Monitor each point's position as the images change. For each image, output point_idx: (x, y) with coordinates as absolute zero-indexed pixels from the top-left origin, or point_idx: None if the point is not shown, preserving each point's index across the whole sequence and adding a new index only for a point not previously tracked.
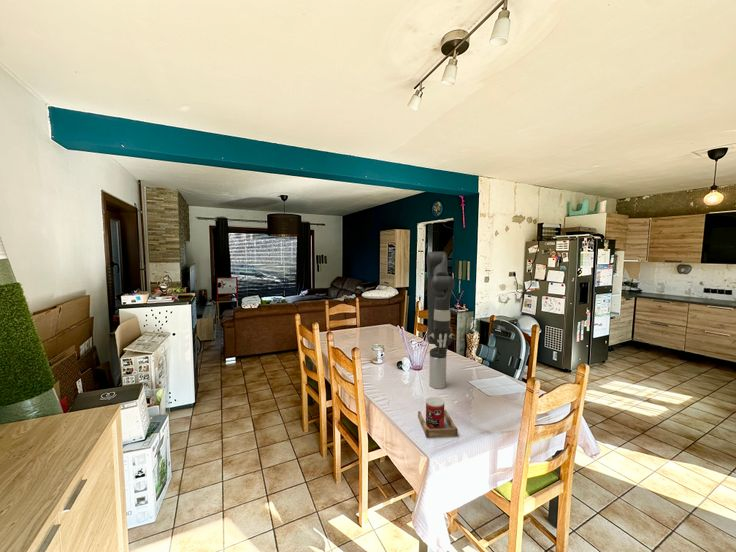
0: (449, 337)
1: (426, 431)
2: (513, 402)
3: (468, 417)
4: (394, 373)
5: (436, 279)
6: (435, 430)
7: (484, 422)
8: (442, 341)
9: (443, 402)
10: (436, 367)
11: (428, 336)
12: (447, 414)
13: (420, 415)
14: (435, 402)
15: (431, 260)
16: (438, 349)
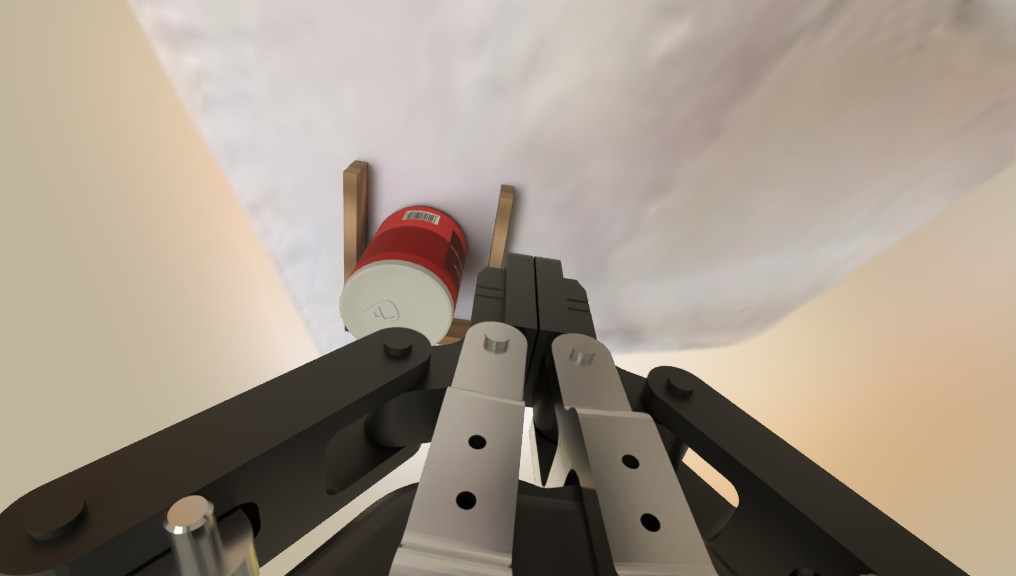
0: (826, 553)
1: (345, 328)
2: (1012, 145)
3: (624, 224)
4: None
5: None
6: None
7: (669, 278)
8: (550, 476)
9: (440, 335)
10: None
11: (23, 530)
12: (499, 241)
13: (346, 216)
14: (395, 318)
15: None
16: (471, 317)
